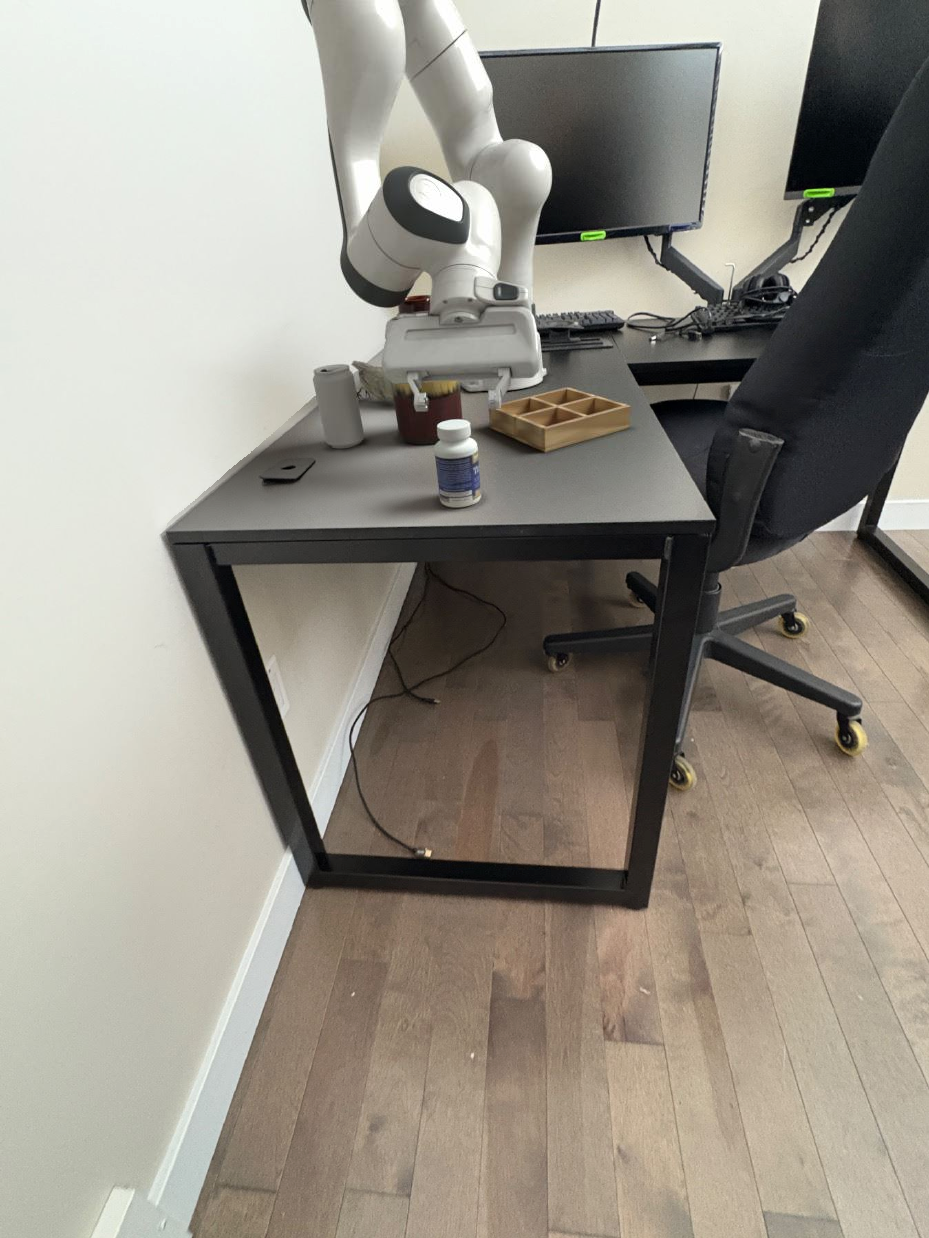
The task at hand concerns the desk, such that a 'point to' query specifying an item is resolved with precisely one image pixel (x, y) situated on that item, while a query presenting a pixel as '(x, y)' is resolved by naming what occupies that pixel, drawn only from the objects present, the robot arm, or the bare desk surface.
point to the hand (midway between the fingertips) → (457, 408)
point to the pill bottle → (457, 464)
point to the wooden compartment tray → (559, 418)
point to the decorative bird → (374, 382)
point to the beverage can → (338, 405)
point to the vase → (440, 394)
